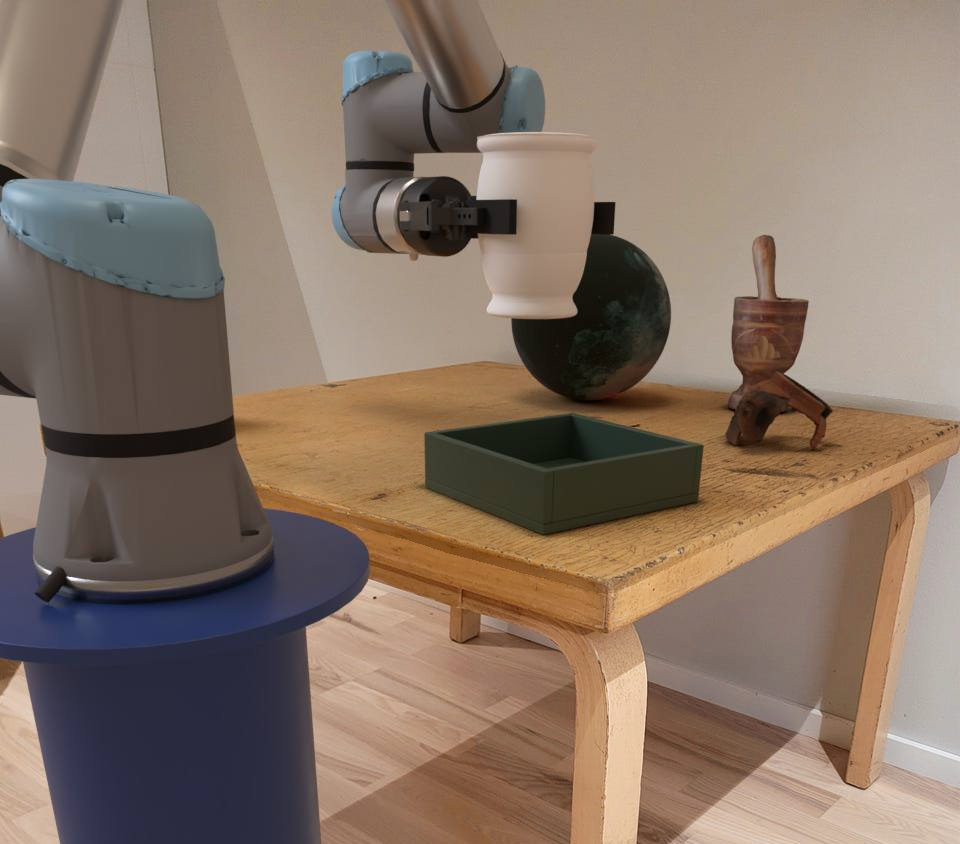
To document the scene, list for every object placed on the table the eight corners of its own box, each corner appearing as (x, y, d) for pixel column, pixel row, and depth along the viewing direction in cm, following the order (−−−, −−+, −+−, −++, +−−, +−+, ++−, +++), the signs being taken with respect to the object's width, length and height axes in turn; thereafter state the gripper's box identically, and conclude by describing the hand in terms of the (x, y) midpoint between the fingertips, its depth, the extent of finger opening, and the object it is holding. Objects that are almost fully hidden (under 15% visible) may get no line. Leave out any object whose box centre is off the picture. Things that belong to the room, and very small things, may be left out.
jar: (458, 318, 87) (458, 132, 81) (497, 309, 96) (499, 141, 90) (571, 323, 84) (580, 129, 78) (600, 313, 93) (610, 139, 87)
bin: (543, 535, 71) (545, 471, 69) (424, 487, 84) (423, 432, 82) (698, 501, 80) (704, 444, 78) (570, 462, 92) (572, 412, 91)
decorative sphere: (679, 413, 116) (696, 235, 108) (515, 413, 115) (519, 233, 107) (646, 387, 134) (659, 232, 126) (504, 386, 134) (507, 231, 126)
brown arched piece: (736, 434, 108) (783, 370, 104) (801, 484, 104) (852, 420, 100) (694, 422, 98) (745, 351, 94) (765, 477, 94) (820, 406, 91)
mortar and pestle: (696, 400, 125) (713, 234, 117) (753, 397, 127) (773, 234, 119) (747, 416, 115) (769, 236, 107) (808, 413, 117) (833, 236, 109)
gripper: (514, 254, 108) (655, 262, 91) (330, 256, 95) (455, 266, 79) (515, 180, 105) (661, 174, 88) (326, 173, 92) (454, 164, 76)
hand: (564, 217), depth 83 cm, fingers closed on jar, 10 cm apart
